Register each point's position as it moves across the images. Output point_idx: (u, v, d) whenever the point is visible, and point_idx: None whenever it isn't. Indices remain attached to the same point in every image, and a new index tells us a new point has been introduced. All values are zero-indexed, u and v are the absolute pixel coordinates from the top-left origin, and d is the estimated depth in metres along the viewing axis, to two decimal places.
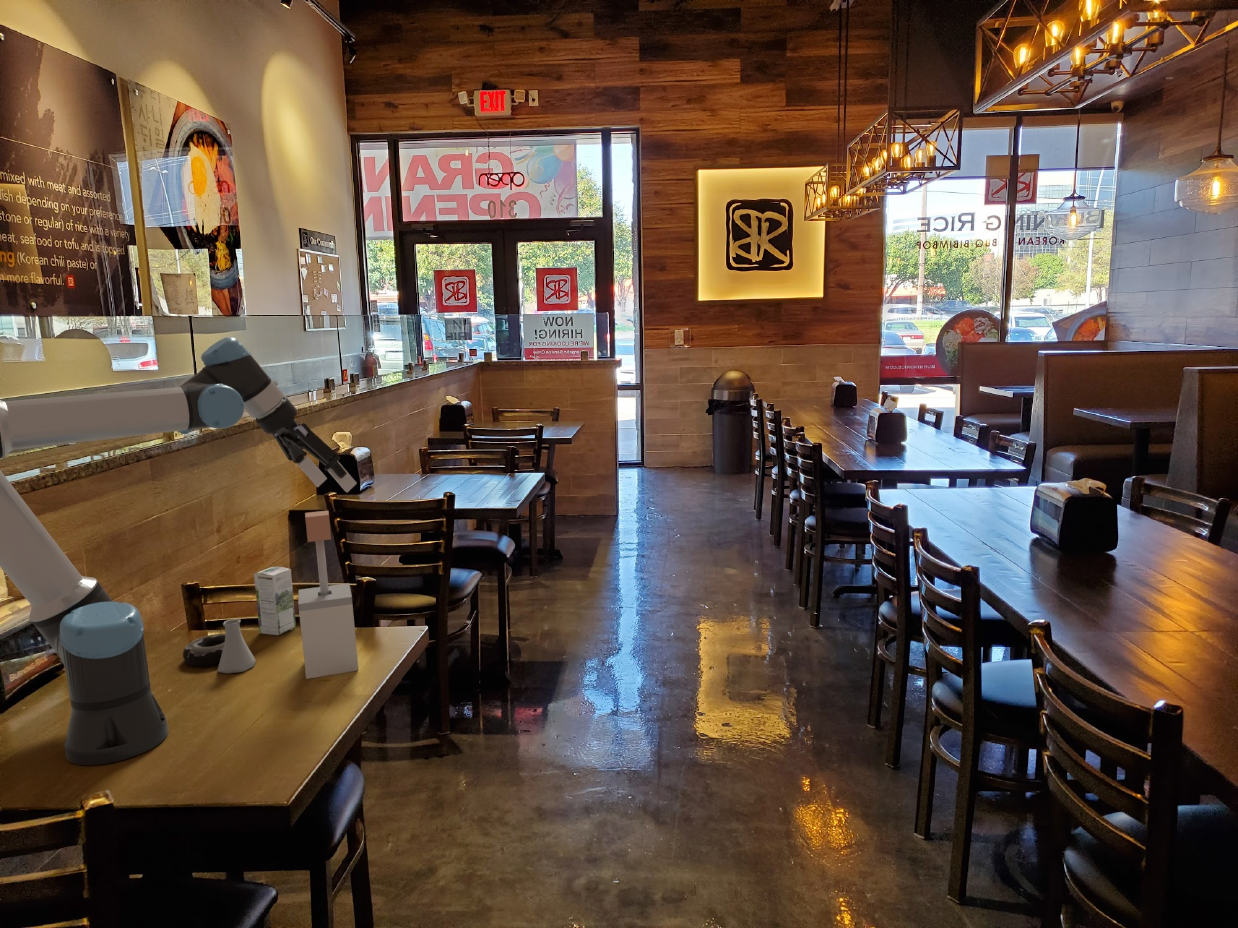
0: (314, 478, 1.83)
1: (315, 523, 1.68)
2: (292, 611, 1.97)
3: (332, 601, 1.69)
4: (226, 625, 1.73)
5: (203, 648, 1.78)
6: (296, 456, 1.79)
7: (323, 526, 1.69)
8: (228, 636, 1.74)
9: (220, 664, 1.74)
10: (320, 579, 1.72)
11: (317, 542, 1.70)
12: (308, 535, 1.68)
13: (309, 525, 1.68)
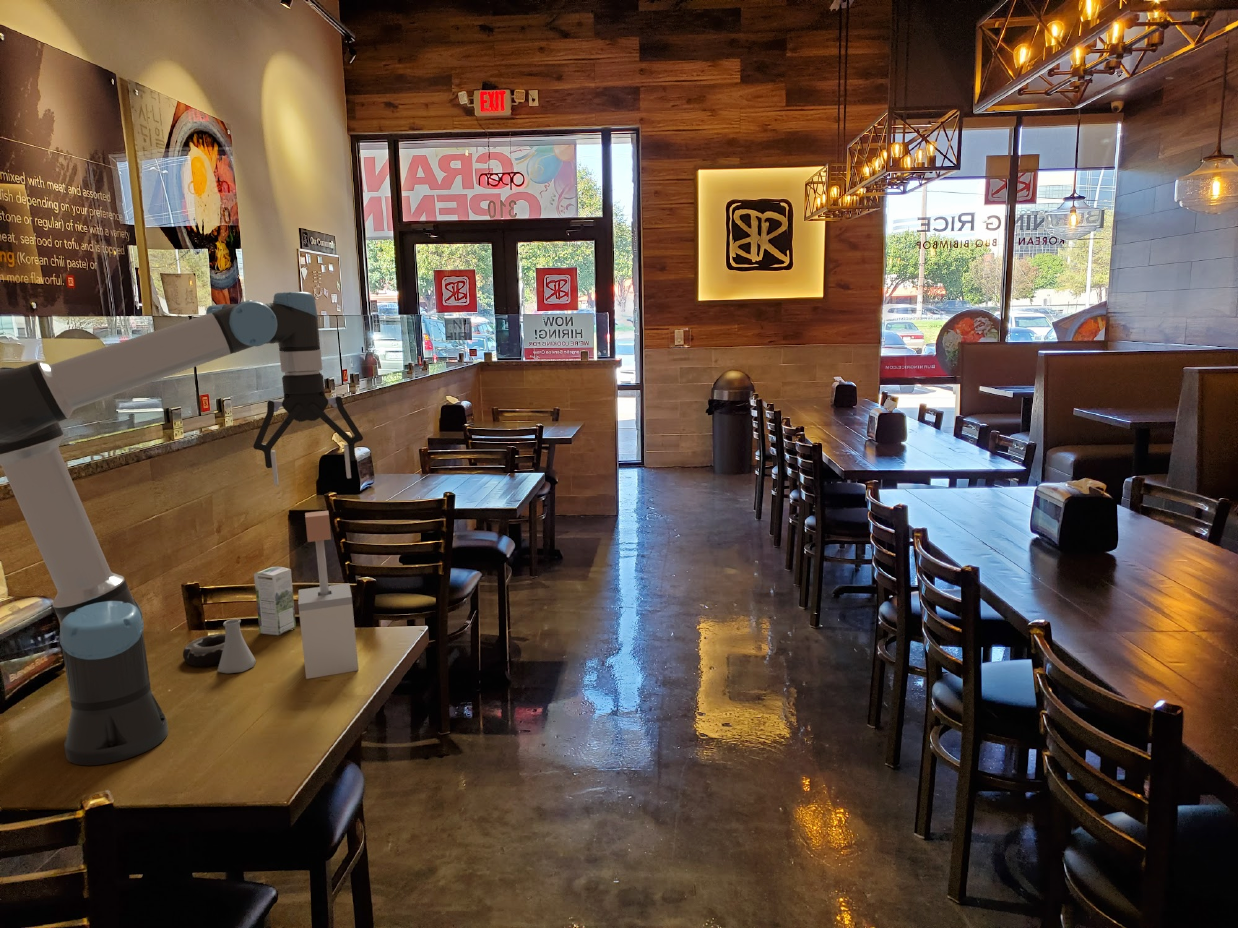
0: (277, 474, 1.66)
1: (315, 523, 1.68)
2: (292, 611, 1.97)
3: (332, 601, 1.69)
4: (226, 625, 1.73)
5: (203, 648, 1.78)
6: None
7: (323, 526, 1.69)
8: (228, 636, 1.74)
9: (220, 664, 1.74)
10: (320, 579, 1.72)
11: (317, 542, 1.70)
12: (308, 535, 1.68)
13: (309, 525, 1.68)
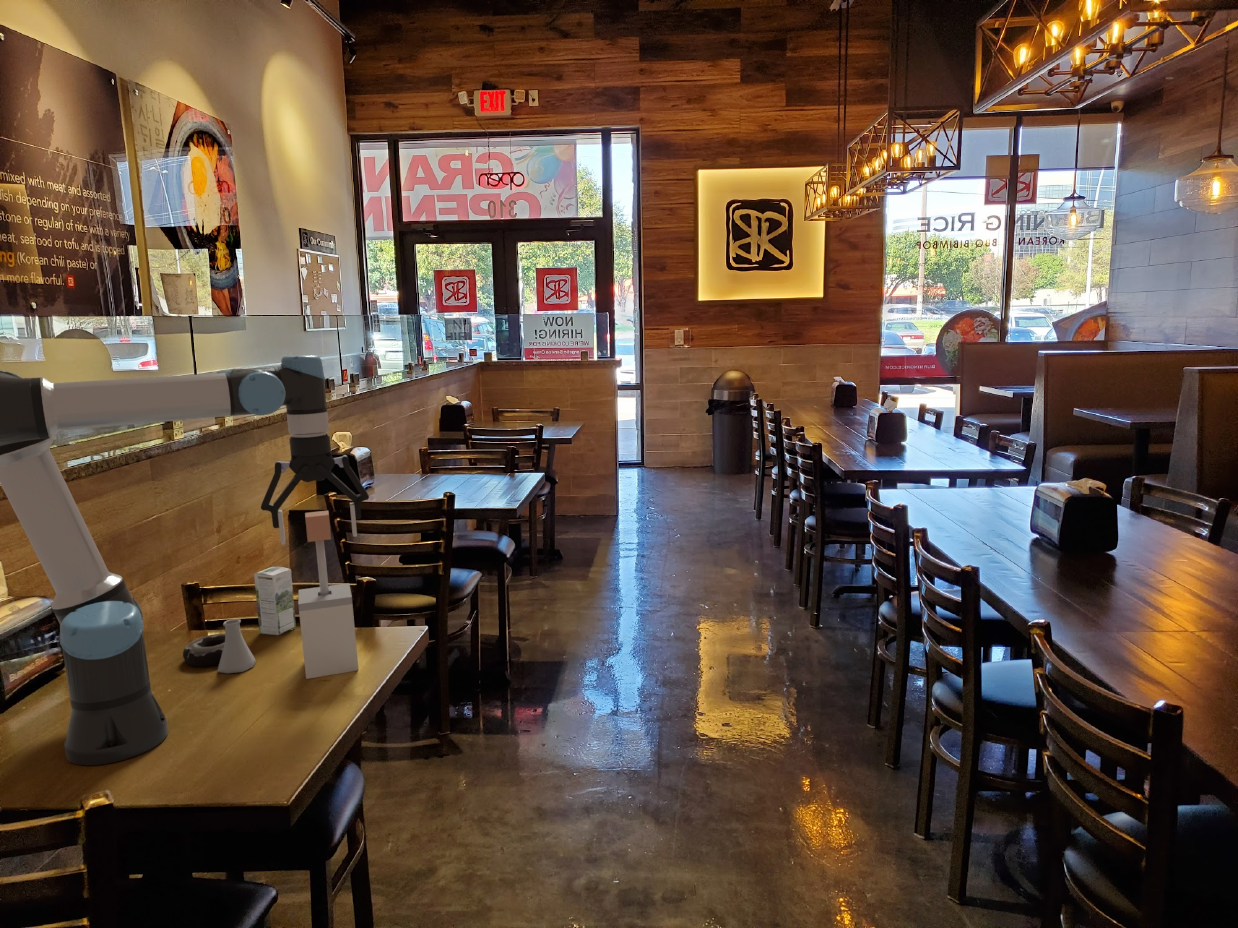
0: (284, 534, 1.68)
1: (315, 523, 1.68)
2: (292, 611, 1.97)
3: (332, 601, 1.69)
4: (226, 625, 1.73)
5: (203, 648, 1.78)
6: None
7: (323, 526, 1.69)
8: (228, 636, 1.74)
9: (220, 664, 1.74)
10: (320, 579, 1.72)
11: (317, 542, 1.70)
12: (308, 535, 1.68)
13: (309, 525, 1.68)
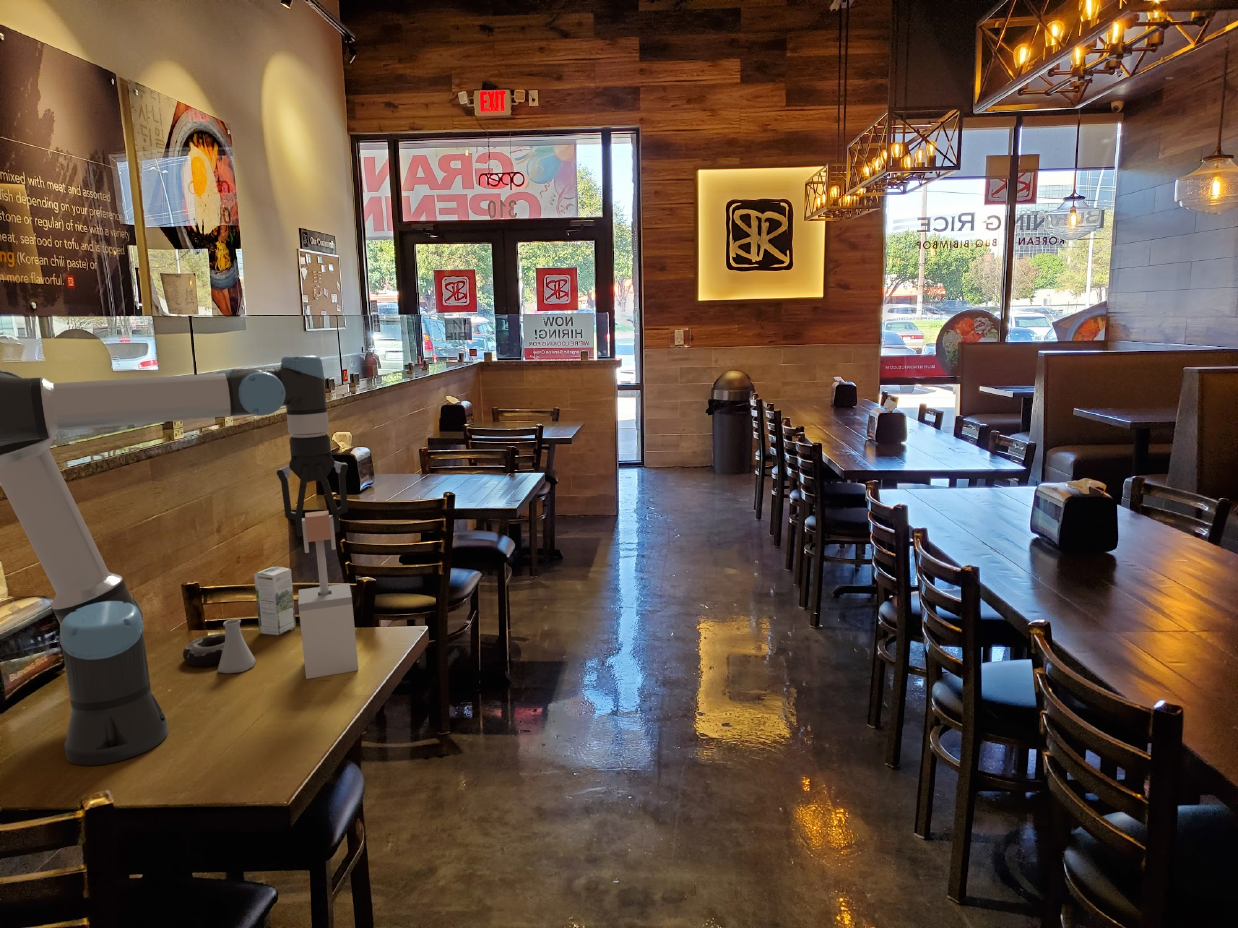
0: None
1: (315, 523, 1.68)
2: (292, 611, 1.97)
3: (332, 601, 1.69)
4: (226, 625, 1.73)
5: (203, 648, 1.78)
6: None
7: (323, 526, 1.69)
8: (228, 636, 1.74)
9: (220, 664, 1.74)
10: (320, 579, 1.72)
11: (317, 542, 1.70)
12: (308, 535, 1.68)
13: (309, 525, 1.68)
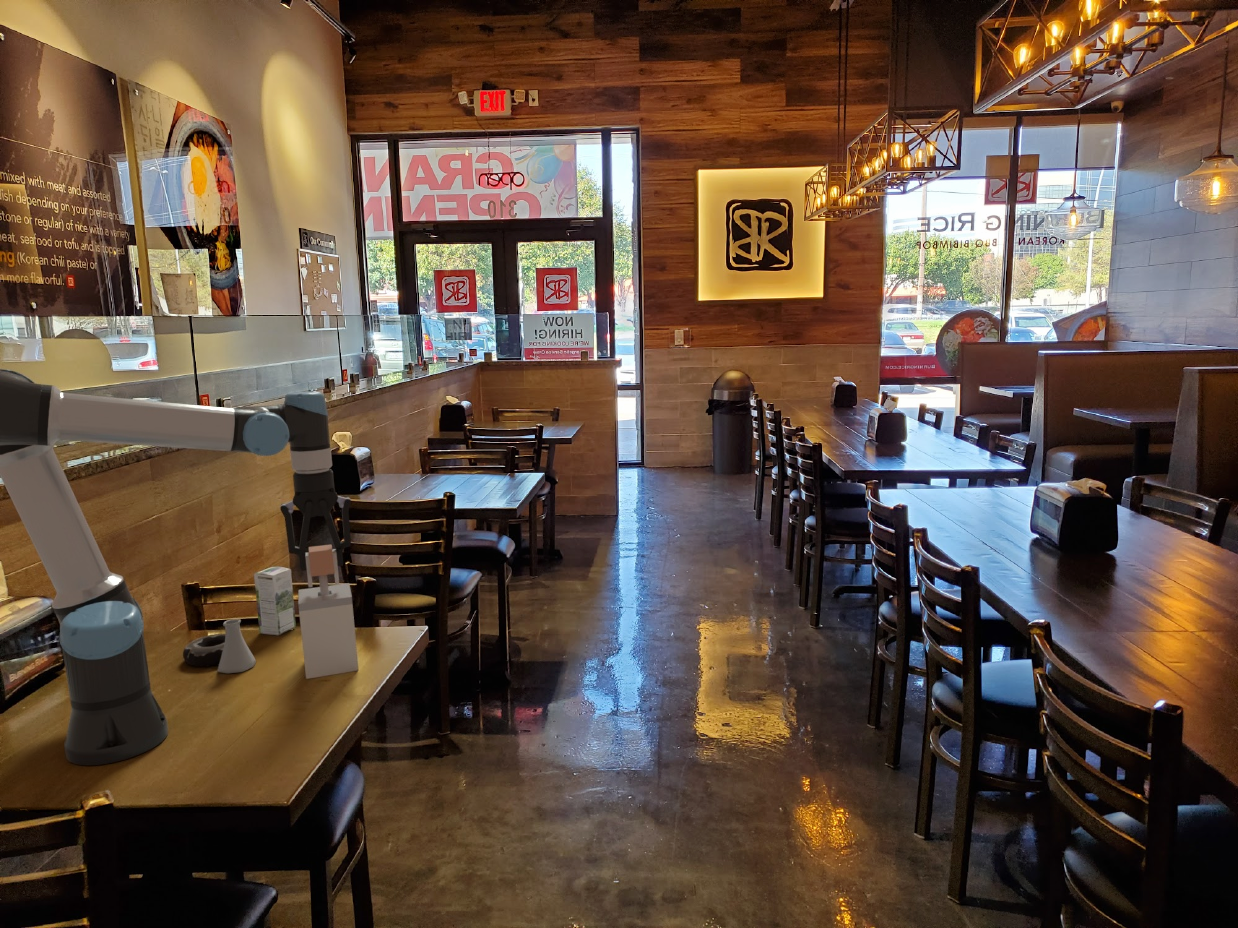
0: None
1: (318, 558, 1.69)
2: (292, 611, 1.97)
3: (332, 601, 1.69)
4: (226, 625, 1.73)
5: (203, 648, 1.78)
6: (306, 542, 1.70)
7: (326, 561, 1.70)
8: (228, 636, 1.74)
9: (220, 664, 1.74)
10: None
11: (320, 576, 1.72)
12: (311, 570, 1.69)
13: (312, 560, 1.69)
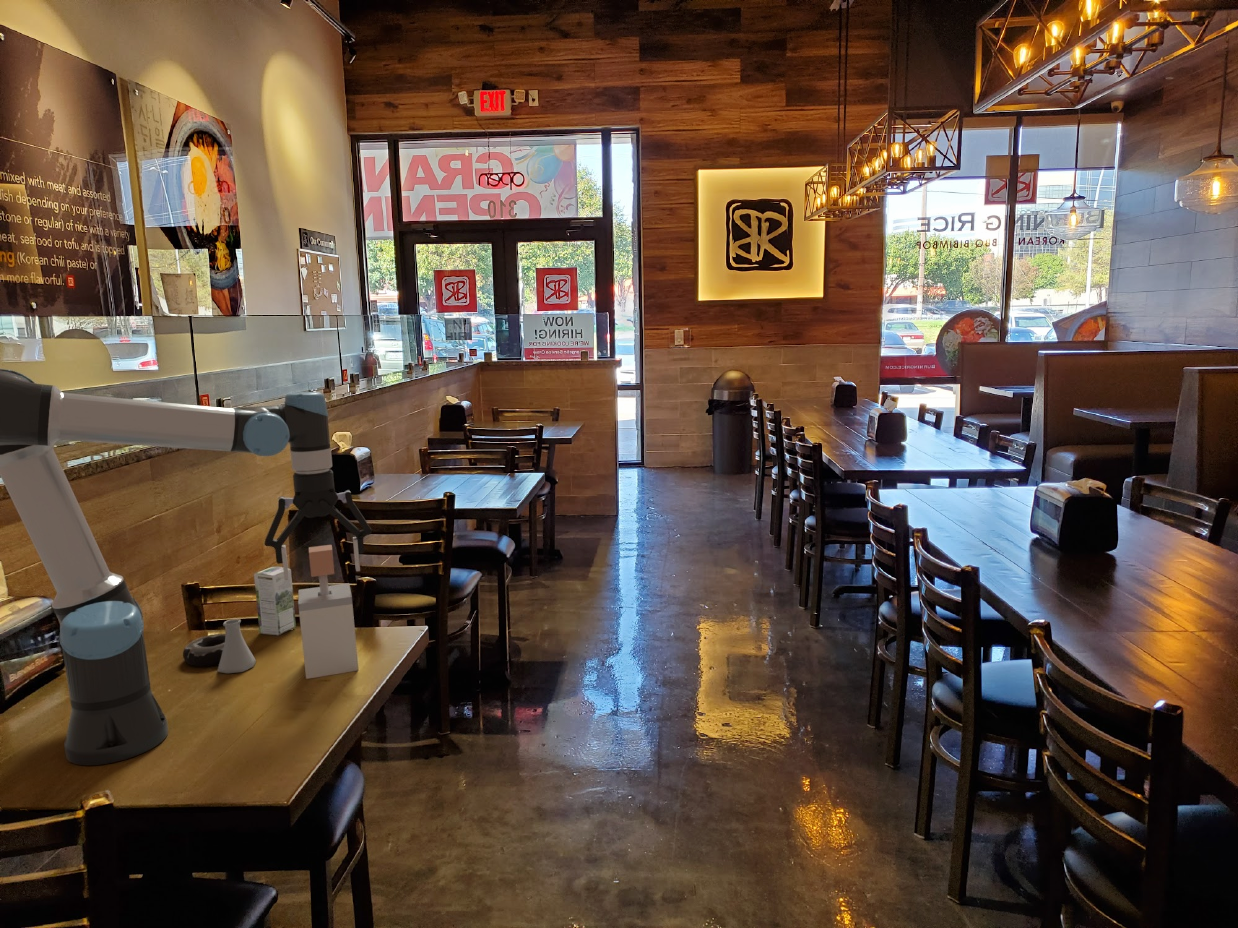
0: (287, 569, 1.69)
1: (318, 558, 1.69)
2: (292, 611, 1.97)
3: (332, 601, 1.69)
4: (226, 625, 1.73)
5: (203, 648, 1.78)
6: (286, 538, 1.68)
7: (326, 561, 1.70)
8: (228, 636, 1.74)
9: (220, 664, 1.74)
10: None
11: (320, 576, 1.72)
12: (311, 570, 1.69)
13: (312, 560, 1.69)
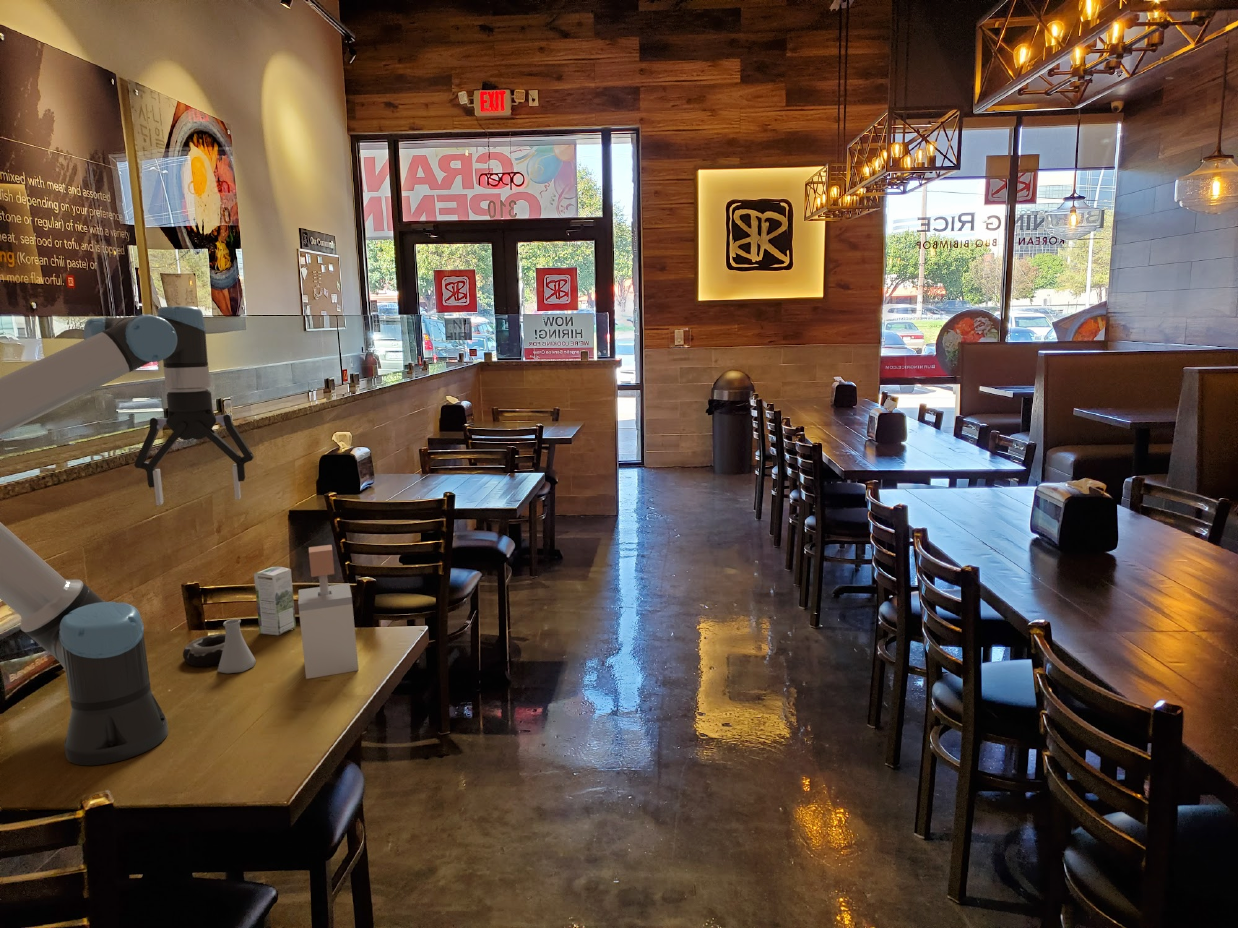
0: (160, 494, 1.60)
1: (318, 558, 1.69)
2: (292, 611, 1.97)
3: (332, 601, 1.69)
4: (226, 625, 1.73)
5: (203, 648, 1.78)
6: (159, 460, 1.60)
7: (326, 561, 1.70)
8: (228, 636, 1.74)
9: (220, 664, 1.74)
10: None
11: (320, 576, 1.72)
12: (311, 570, 1.69)
13: (312, 560, 1.69)
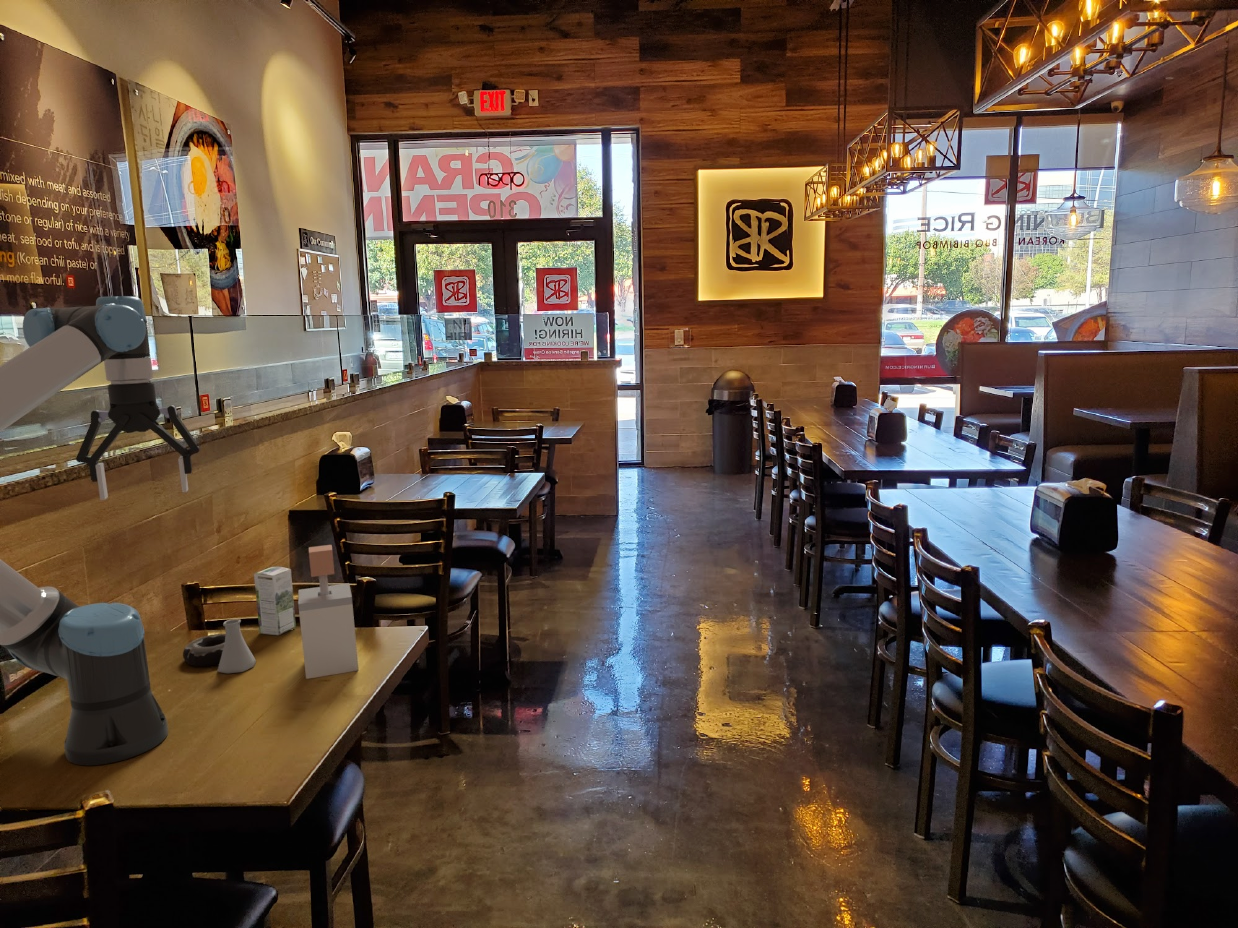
0: (104, 488, 1.57)
1: (318, 558, 1.69)
2: (292, 611, 1.97)
3: (332, 601, 1.69)
4: (226, 625, 1.73)
5: (203, 648, 1.78)
6: (102, 454, 1.57)
7: (326, 561, 1.70)
8: (228, 636, 1.74)
9: (220, 664, 1.74)
10: None
11: (320, 576, 1.72)
12: (311, 570, 1.69)
13: (312, 560, 1.69)
